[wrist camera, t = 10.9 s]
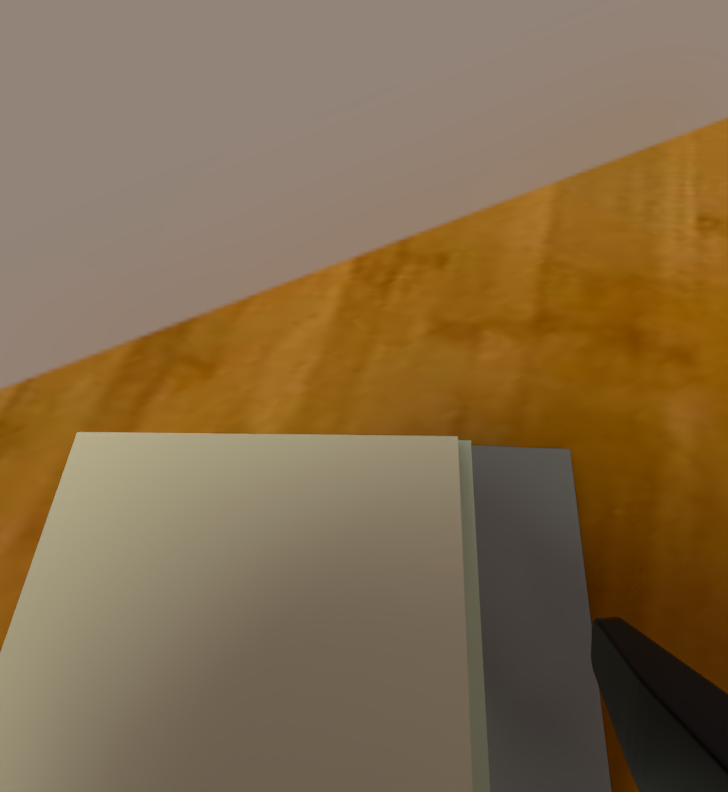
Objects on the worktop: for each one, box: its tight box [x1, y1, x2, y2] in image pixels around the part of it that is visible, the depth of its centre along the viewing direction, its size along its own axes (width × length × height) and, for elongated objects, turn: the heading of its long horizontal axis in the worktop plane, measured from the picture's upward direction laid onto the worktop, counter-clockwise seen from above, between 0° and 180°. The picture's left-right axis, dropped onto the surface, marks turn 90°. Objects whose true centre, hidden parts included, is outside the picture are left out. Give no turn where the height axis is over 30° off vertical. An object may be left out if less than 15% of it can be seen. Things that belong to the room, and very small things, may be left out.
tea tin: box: [0, 432, 490, 792], centre depth 10 cm, size 4×4×13 cm
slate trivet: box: [471, 445, 612, 792], centre depth 15 cm, size 14×14×1 cm
